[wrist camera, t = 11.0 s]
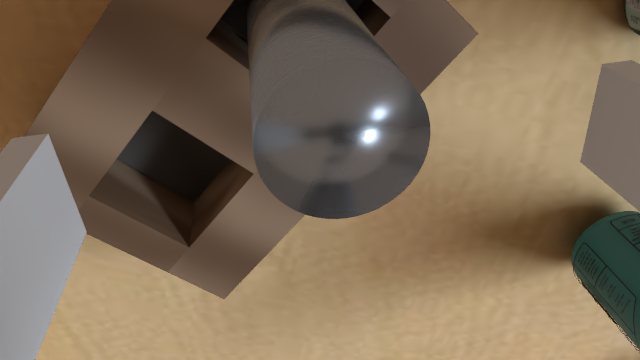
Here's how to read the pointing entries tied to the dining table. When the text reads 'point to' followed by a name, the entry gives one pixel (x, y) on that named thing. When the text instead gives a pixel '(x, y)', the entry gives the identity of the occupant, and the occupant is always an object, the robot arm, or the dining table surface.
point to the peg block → (196, 128)
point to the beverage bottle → (613, 268)
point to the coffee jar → (633, 14)
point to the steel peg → (330, 110)
